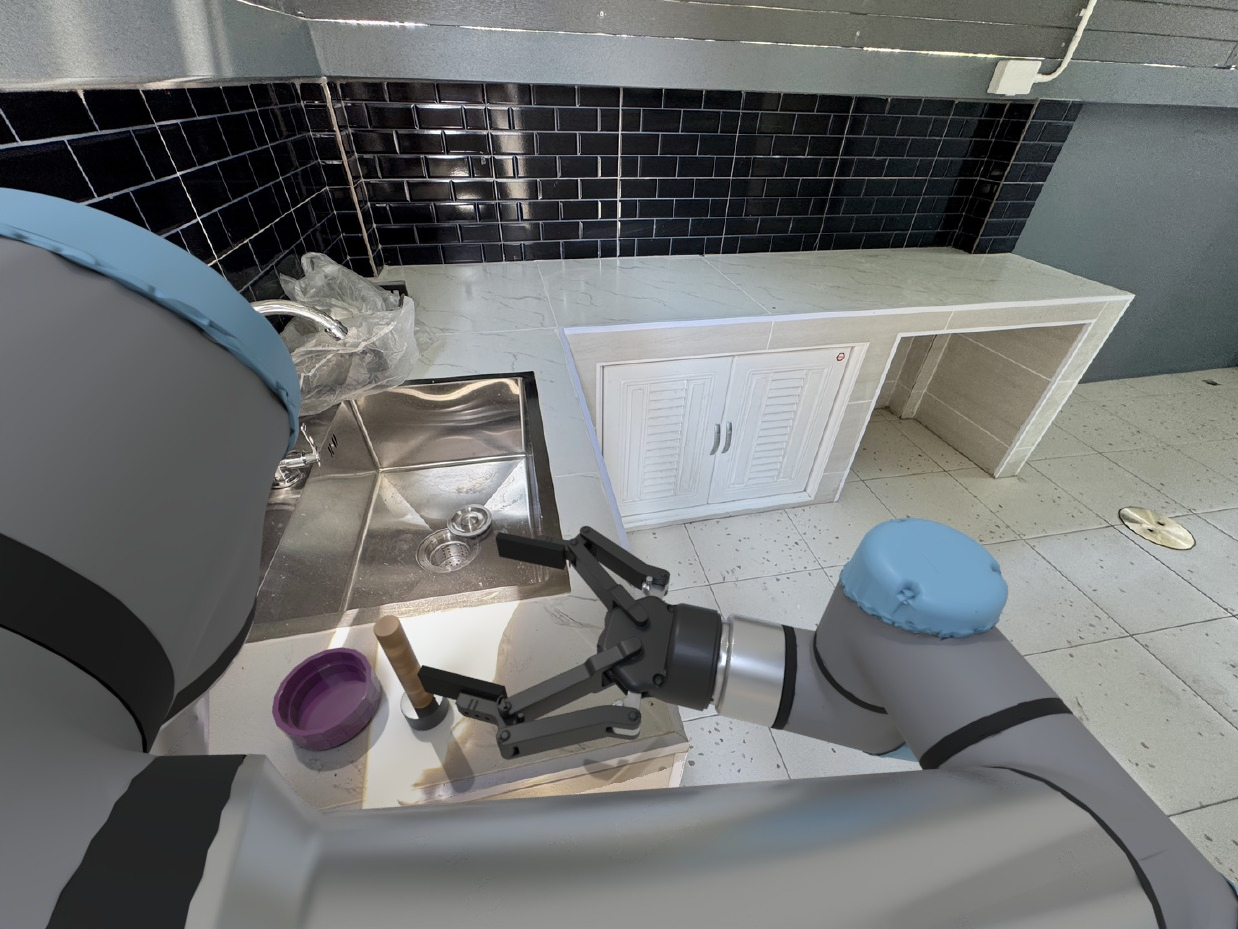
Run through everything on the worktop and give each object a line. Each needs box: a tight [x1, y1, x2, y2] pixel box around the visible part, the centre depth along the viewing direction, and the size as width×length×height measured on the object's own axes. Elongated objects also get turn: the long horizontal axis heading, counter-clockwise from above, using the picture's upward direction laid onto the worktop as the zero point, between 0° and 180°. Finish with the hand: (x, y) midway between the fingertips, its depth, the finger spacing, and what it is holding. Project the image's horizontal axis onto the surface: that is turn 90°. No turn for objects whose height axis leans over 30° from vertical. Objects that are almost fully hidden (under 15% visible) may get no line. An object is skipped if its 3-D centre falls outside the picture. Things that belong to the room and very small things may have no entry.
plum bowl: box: [271, 646, 381, 752], centre depth 59 cm, size 10×10×4 cm
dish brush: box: [372, 614, 450, 732], centre depth 55 cm, size 5×5×18 cm
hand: (465, 603), depth 43 cm, fingers open, 13 cm apart
